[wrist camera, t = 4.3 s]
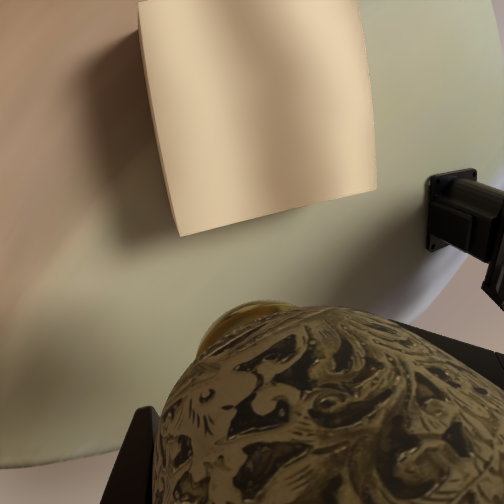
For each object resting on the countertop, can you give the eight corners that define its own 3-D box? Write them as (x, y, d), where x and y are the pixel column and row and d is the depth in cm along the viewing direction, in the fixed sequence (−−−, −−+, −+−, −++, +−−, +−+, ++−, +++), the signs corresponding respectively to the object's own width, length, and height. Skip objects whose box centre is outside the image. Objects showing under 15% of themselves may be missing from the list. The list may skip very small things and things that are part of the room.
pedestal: (316, 16, 15) (356, -1, 11) (335, 174, 19) (376, 189, 16) (138, 29, 12) (137, 2, 9) (171, 211, 17) (180, 237, 13)
